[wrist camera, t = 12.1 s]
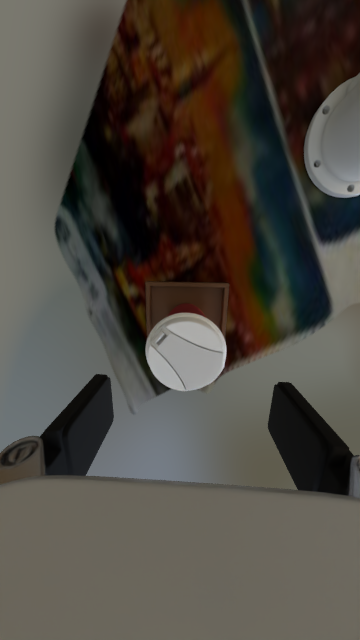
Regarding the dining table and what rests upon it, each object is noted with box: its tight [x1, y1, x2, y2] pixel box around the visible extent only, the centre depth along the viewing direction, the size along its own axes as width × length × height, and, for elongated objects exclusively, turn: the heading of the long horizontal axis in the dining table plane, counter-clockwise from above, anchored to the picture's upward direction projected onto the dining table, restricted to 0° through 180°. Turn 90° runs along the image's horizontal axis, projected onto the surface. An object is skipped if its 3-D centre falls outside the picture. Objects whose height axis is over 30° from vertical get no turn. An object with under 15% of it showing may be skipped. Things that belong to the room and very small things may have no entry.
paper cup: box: [146, 303, 226, 391], centre depth 23 cm, size 8×8×14 cm
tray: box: [145, 281, 229, 339], centre depth 30 cm, size 12×12×2 cm
